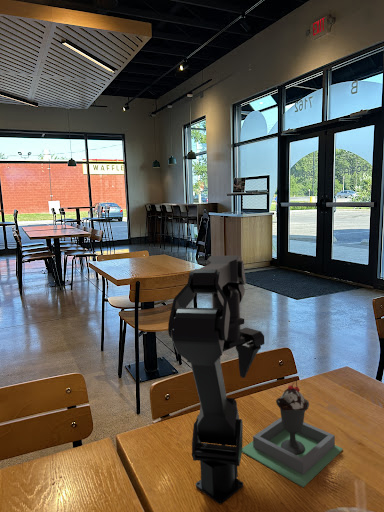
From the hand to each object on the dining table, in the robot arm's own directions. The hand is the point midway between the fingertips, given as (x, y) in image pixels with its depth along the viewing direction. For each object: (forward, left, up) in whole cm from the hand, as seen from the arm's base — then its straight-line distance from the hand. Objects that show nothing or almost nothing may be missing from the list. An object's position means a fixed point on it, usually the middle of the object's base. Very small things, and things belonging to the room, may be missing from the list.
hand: (228, 384), depth 82 cm
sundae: (+7, -11, -13) cm, 18 cm away
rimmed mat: (+7, -12, -13) cm, 19 cm away
